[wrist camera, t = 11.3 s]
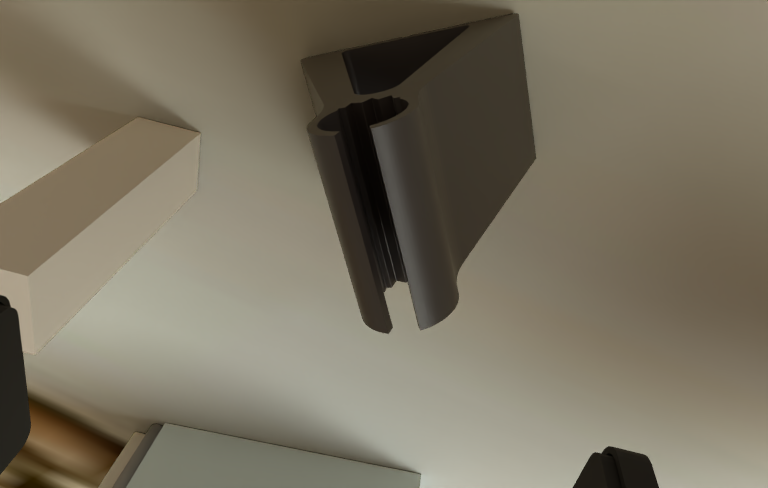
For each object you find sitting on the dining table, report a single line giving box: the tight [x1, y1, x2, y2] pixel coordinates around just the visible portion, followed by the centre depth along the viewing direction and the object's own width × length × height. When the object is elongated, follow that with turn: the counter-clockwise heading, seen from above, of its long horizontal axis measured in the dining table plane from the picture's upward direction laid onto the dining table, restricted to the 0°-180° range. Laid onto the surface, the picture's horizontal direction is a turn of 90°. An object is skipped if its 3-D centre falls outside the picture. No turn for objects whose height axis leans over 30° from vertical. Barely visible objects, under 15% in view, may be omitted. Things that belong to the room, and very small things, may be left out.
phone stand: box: [301, 13, 536, 334], centre depth 21 cm, size 9×6×12 cm, turn 102°
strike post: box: [0, 117, 201, 355], centre depth 24 cm, size 3×3×12 cm
